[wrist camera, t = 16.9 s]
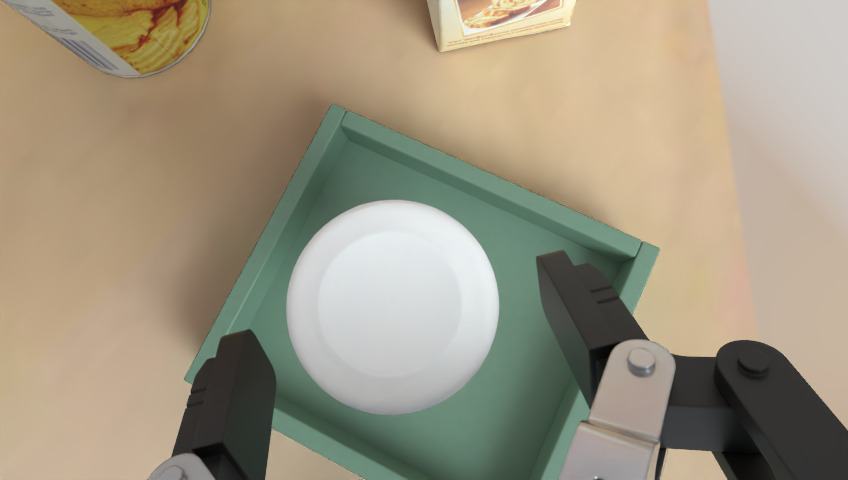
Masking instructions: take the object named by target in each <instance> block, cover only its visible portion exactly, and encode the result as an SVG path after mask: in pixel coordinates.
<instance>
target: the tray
mask: <svg viewBox="0 0 848 480" xmlns="http://www.w3.org/2000/svg"><path fill="white" fill-rule="evenodd" d="M381 200H406V201H413V202H418V203H422V204H425V205H429V206H431V207H434V208H436V209H438V210H441V211H443V212H444V213H446V214H448V215H449V216H451V217H452V218H454V219H455V220H457V221H458V222H459V223H461V224H462V225H463V226H464V227H465V228H466V229H467V230H468V231H469V232H470V233H471V234H472V235H473V236H474V238H475V239H476V240H477V241H478V243H479V244H480V245H481V247H482V249H483V250H484V252H485V253H486V255H487V257H488V259H489V261H490V264H491V266H492V269H493V271H494V275H495V279H496V282H497V288H498V295H499V318H498V325H497V329H496V334H495V337H494V340H493V343H492V346H491V349H490V351H489V353H488V355H487V357H486V359H485V360H484V362H483V364H482V365H481V367H480V369H479V370H478V371H477V372H476V374H475V375H474V376H473V377H472V379H471V380H470V381H469V382H468V383H467V384H466V385H465V386H464V387H463V388H462V389H460V390H459V391H458V392H457V393H455V394H454V395H452V396H451V397H449V398H448V399H446V400H445V401H443V402H441V403H439V404H437V405H435V406H433V407H430V408H427V409H424V410H421V411H418V412H413V413H409V414H401V415H381V414H373V413H369V412H364V411H361V410H358V409H355V408H352V407H350V406H348V405H345V404H343V403H341V402H339V401H338V400H336V399H335V398H333V397H332V396H330V395H329V394H328V393H326V392H325V391H324V390H323V389H322V388H320V386H319V385H318V384H317V383H316V382H315V381H314V380H313V379H312V378H311V377H310V375H309V374H308V373H307V372H306V370H305V369H304V367H303V366H302V364H301V362H300V361H299V359H298V357H297V355H296V352H295V350H294V348H293V345H292V342H291V339H290V335H289V331H288V325H287V315H286V302H287V292H288V286H289V282H290V279H291V276H292V272H293V269H294V267H295V265H296V263H297V260H298V258H299V256H300V255H301V253H302V251H303V250H304V248H305V247H306V246H307V244H308V243H309V242H310V240H311V239H312V238H313V236H314V235H315V234H316V233H317V232H318V231H319V230H320V229H321V228H322V227H323V226H324V225H326V224H327V223H328V222H330V221H331V220H332V219H334V218H335V217H337V216H339V215H340V214H342V213H344V212H346V211H348V210H350V209H352V208H354V207H356V206H359V205H362V204H366V203H370V202H375V201H381ZM558 250H564V251H565V252H566V253H567V255H568V257H569V258H570V260H571V261H572V263H573V265H574V266H576V265H580V264H584V263H589V264H591V265H592V266H594V267H595V268H597V269H599V270H600V271H602V272H603V273H604V275H605V276H606V278H607V279H608V281H609V282H610V283H611V285H612V288H614V289H615V291H616V292H617V294H618V295H619V298H620V299H621V300H622V301H623V303H624V304H625V306H626V307H627V309H628V310H629V311H630V313H631V314H632V315H633V312H634V310H635V308H636V305H637V303H638V301H639V298H640V296H641V294H642V291H643V289H644V287H645V284H646V282H647V280H648V277H649V275H650V273H651V270H652V268H653V266H654V263H655V261H656V258H657V256H658V254H659V251H660V249H659V248H658V247H655V246H653V245H651V244H649V243H646V242H641V240H640V239H637V238H635V237H633V236H631V235H628V234H626V233H624V232H622V231H619V230H617V229H615V228H613V227H610V226H608V225H606V224H604V223H601V222H599V221H597V220H595V219H592V218H590V217H588V216H586V215H583V214H581V213H579V212H577V211H574V210H572V209H570V208H568V207H565V206H563V205H561V204H559V203H556V202H554V201H552V200H550V199H547V198H545V197H543V196H540V195H538V194H536V193H534V192H531V191H529V190H527V189H525V188H522V187H520V186H518V185H516V184H513V183H511V182H509V181H507V180H504V179H502V178H500V177H498V176H495V175H493V174H491V173H489V172H486V171H484V170H482V169H480V168H477V167H475V166H473V165H471V164H468V163H466V162H464V161H462V160H459V159H457V158H455V157H453V156H450V155H448V154H446V153H444V152H441V151H439V150H437V149H435V148H432V147H430V146H428V145H426V144H423V143H421V142H419V141H417V140H414V139H412V138H410V137H407V136H405V135H403V134H401V133H398V132H396V131H394V130H392V129H389V128H387V127H385V126H383V125H380V124H378V123H376V122H374V121H371V120H369V119H367V118H365V117H362V116H360V115H358V114H356V113H353V112H351V111H347V110H346V109H344V108H342V107H340V106H338V105H335V104H331V106H330V108H329V110H328V112H327V114H326V115H325V117H324V119H323V121H322V123H321V125H320V127H319V129H318V130H317V132H316V134H315V136H314V138H313V140H312V142H311V143H310V145H309V147H308V149H307V151H306V153H305V155H304V156H303V158H302V160H301V162H300V164H299V166H298V168H297V169H296V171H295V173H294V175H293V177H292V179H291V181H290V182H289V184H288V186H287V188H286V190H285V192H284V194H283V195H282V197H281V199H280V201H279V203H278V205H277V207H276V209H275V210H274V212H273V214H272V216H271V218H270V220H269V222H268V223H267V225H266V227H265V229H264V231H263V233H262V235H261V236H260V238H259V240H258V242H257V244H256V246H255V248H254V249H253V251H252V253H251V255H250V257H249V259H248V261H247V262H246V264H245V266H244V268H243V270H242V272H241V274H240V275H239V277H238V279H237V281H236V283H235V285H234V287H233V289H232V290H231V292H230V294H229V296H228V298H227V300H226V302H225V303H224V305H223V307H222V309H221V311H220V313H219V315H218V316H217V318H216V320H215V322H214V324H213V326H212V328H211V329H210V331H209V333H208V335H207V337H206V339H205V341H204V342H203V344H202V346H201V348H200V350H199V352H198V354H197V355H196V357H195V359H194V361H193V363H192V365H191V367H190V369H189V370H188V372H187V374H186V376H185V378H184V380H185V381H187V382H189V383H190V384H192V385H193V382H194V378H195V375H196V374H197V372H198V371H199V370H200V368H201V367H202V365H203V364H204V362H205V361H206V360H207V359H209V358H213V357H215V356H216V352H217V349H218V345H219V341H220V338H221V337H222V336H224V335H228V334H231V333H235V332H239V331H243V330H247V329H250V330H252V331H253V332H254V334H255V335H256V337H257V339H258V341H259V342H260V344H261V346H262V348H263V350H264V351H265V353H266V355H267V357H268V358H269V360H270V362H271V364H272V366H273V368H274V371H275V375H276V382H277V387H276V396H275V404H274V412H273V420H272V428H273V429H274V430H276V431H278V432H280V433H282V434H284V435H285V436H287V437H289V438H291V439H293V440H295V441H296V442H298V443H300V444H302V445H304V446H306V447H307V448H309V449H311V450H313V451H315V452H317V453H318V454H320V455H322V456H324V457H326V458H328V459H329V460H331V461H333V462H335V463H337V464H339V465H340V466H342V467H344V468H346V469H348V470H350V471H351V472H353V473H355V474H357V475H359V476H360V477H362V478H364V479H366V480H558V478H559V475H560V472H561V470H562V467H563V464H564V461H565V459H566V456H567V453H568V450H569V448H570V445H571V442H572V439H573V436H574V434H575V431H576V428H577V426H578V424H579V423H580V421H581V420H585V421H586V420H587V418H588V415H589V413H590V409H589V407H588V405H587V403H586V401H585V398H584V396H583V394H582V392H581V390H580V388H579V386H578V384H577V382H576V380H575V377H574V375H573V373H572V371H571V369H570V367H569V365H568V363H567V361H566V359H565V356H564V354H563V352H562V350H561V348H560V346H559V344H558V342H557V340H556V338H555V336H554V333H553V331H552V329H551V327H550V325H549V323H548V321H547V319H546V316H545V313H544V310H543V307H542V303H541V297H540V289H539V281H538V273H537V265H536V257H537V256H539V255H543V254H547V253H551V252H555V251H558Z"/></svg>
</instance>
